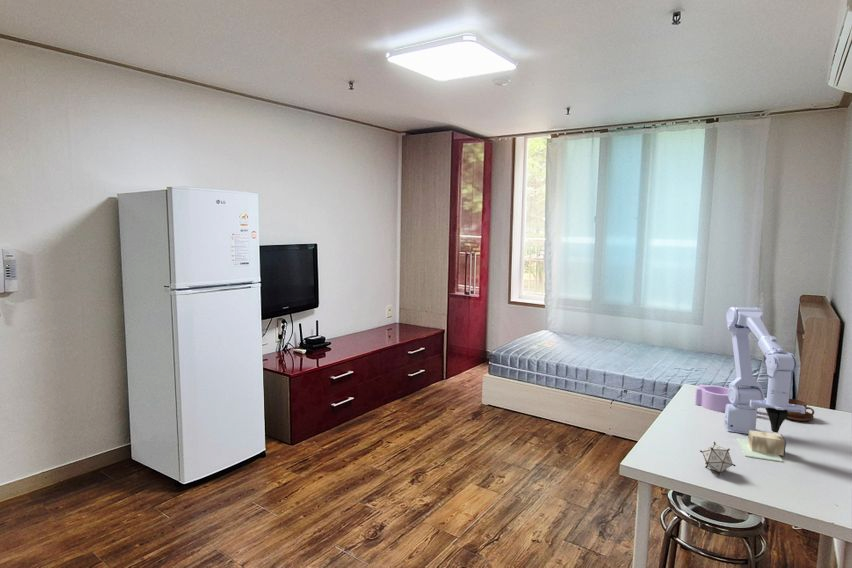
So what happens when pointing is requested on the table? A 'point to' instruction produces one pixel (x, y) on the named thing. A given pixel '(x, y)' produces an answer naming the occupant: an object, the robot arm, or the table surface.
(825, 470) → the table surface
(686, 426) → the table surface
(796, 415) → the cup and saucer
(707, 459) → the game die
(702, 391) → the clip
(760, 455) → the mat
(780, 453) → the maple block
